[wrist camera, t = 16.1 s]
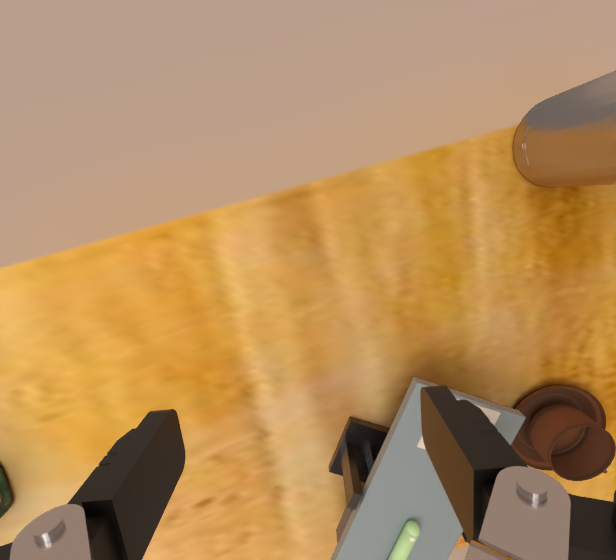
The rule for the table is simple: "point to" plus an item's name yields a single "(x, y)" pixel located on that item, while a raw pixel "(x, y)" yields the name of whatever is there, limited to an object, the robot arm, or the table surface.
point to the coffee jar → (4, 494)
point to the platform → (410, 491)
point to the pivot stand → (358, 457)
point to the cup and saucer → (564, 433)
